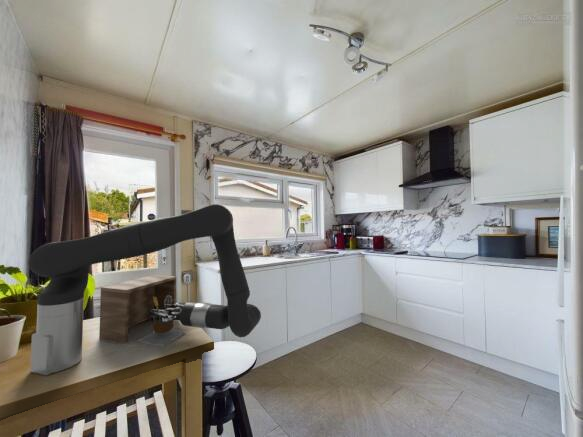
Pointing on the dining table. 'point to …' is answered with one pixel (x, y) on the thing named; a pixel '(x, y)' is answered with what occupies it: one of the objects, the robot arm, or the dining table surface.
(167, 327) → the utensil holder
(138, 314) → the open box
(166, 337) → the grey mat
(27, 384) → the dining table surface
